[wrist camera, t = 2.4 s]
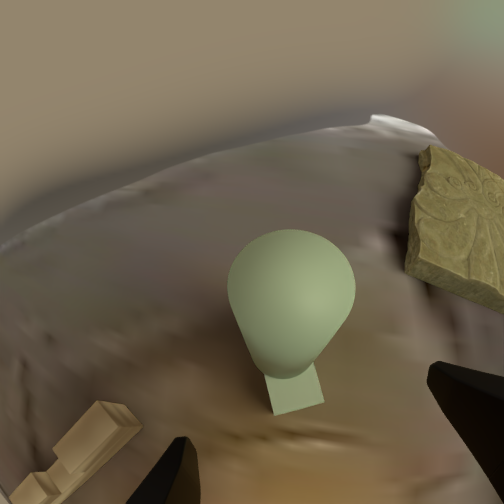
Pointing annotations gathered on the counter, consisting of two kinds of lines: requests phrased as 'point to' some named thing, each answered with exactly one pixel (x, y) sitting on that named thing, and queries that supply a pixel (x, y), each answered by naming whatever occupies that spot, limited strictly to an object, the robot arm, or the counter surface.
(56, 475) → the birch slotted plate
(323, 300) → the green joystick knob
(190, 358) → the counter surface
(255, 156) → the counter surface
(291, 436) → the counter surface
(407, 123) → the counter surface
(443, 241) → the decorative tile
